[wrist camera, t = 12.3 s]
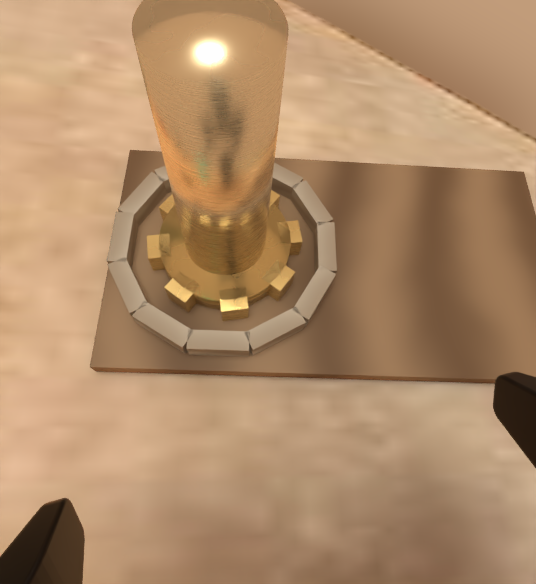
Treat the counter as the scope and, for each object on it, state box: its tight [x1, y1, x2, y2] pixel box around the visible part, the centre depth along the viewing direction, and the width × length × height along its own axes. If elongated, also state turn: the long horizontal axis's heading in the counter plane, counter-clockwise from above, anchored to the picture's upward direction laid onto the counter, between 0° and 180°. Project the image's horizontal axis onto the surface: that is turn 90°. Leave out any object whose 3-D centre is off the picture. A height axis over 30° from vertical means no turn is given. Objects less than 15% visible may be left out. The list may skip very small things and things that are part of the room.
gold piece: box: [132, 0, 303, 321], centre depth 18 cm, size 8×8×14 cm
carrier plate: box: [90, 150, 536, 383], centre depth 25 cm, size 26×14×2 cm, turn 89°
